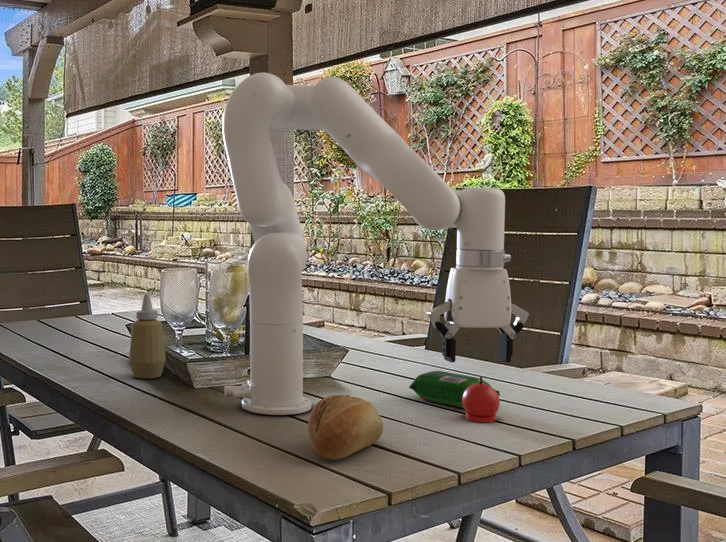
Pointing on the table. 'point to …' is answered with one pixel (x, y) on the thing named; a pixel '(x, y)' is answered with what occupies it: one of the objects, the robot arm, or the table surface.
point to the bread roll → (343, 426)
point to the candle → (480, 402)
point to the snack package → (443, 387)
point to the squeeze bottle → (147, 343)
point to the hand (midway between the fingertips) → (477, 360)
